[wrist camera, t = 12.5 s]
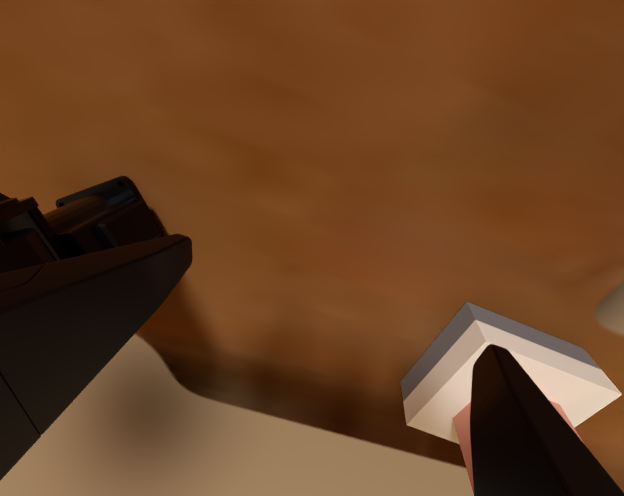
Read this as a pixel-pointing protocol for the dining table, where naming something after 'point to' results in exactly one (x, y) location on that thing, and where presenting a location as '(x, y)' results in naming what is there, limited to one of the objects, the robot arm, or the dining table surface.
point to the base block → (525, 349)
